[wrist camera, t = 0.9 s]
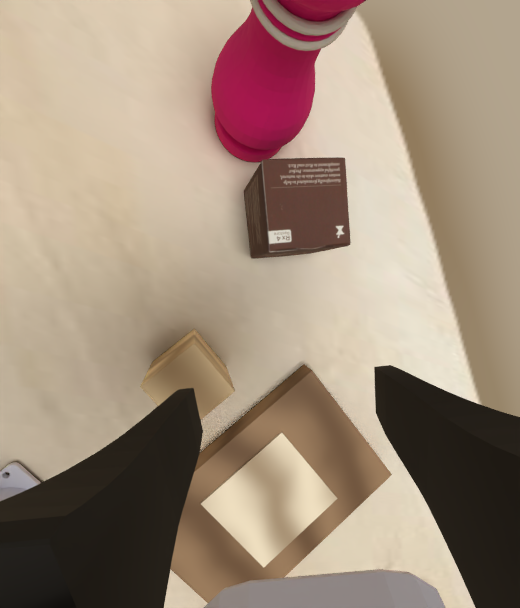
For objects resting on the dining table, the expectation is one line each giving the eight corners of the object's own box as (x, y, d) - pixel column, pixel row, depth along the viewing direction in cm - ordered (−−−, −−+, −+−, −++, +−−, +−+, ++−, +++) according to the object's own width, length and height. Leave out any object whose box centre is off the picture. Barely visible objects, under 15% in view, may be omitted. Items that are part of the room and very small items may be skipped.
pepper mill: (294, 90, 26) (585, -449, 7) (287, 174, 27) (537, -101, 7) (212, 70, 25) (278, -711, 5) (205, 160, 25) (244, -241, 6)
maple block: (186, 399, 27) (184, 433, 21) (152, 361, 26) (140, 386, 20) (226, 366, 27) (234, 391, 21) (194, 328, 26) (194, 343, 20)
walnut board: (230, 602, 29) (233, 628, 27) (132, 510, 26) (126, 531, 24) (379, 462, 31) (393, 475, 29) (304, 364, 29) (313, 371, 26)
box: (307, 187, 27) (348, 155, 20) (312, 254, 28) (353, 246, 21) (242, 189, 26) (260, 156, 19) (248, 259, 27) (268, 252, 20)
